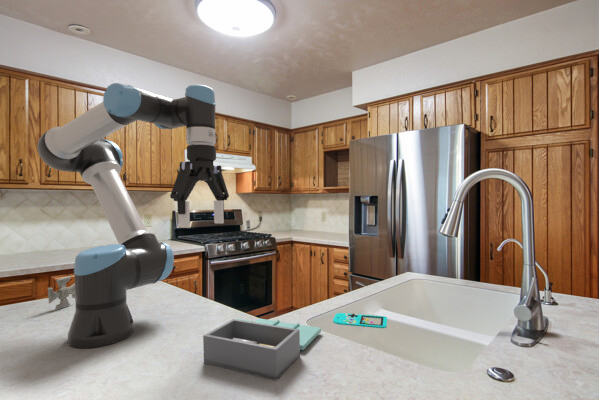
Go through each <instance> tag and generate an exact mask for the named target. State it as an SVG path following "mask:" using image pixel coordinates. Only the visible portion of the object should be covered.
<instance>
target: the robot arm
mask: <svg viewBox="0 0 599 400" xmlns="http://www.w3.org/2000/svg"><path fill="white" fill-rule="evenodd" d="M184 95H185V96H183V97H180V98H173V99H172V98H169V97H165V96H163V95H159V94H158V93H157V94H156V93H153V92H149V91H147V90H144V89H140V88H137V87H134V86H133V85H130V84H123V83H120V82H119V83H118V82H114V83H111V84H109V85H108V86H107V87H106V90H104V94H103V98H102V102H100V103H98V104H97V105H95V106H93V107H92V108H90V109H88V110H87V111H85V112H84V113H82V114H81V115H79V116H77V117H76V118H73V119H72V120H70V121H69V122H68V123H65V124H64V125H63V126H54V127H52V128H50V129H48V130H47V131H45V132H43V134H42V135H41V136H40V137H39V139H38V142H37V146H36V147H37V153H38V155H39V157H40V159H41V160H42V161H43V162H44V163H45V164H46V165H47V166H49V167H50V168H52V169H54V170H57V171H60V172H69V173H79V174H80V176H81V179H82V181H83V182H84V183H85V184H88V185H91V188H92V190H93V191H94V194H95V196H96V198H97V200H98V203H99V204H100V207H101V209H102V211H103V213H104V215H105V217H106V220H107V221H108V223H109V225H110V228H111V230H112V232H113V234H114V237H115V239H116V240H117V243H114V244H113V243H111V244H107V245H100V246H99V245H98V246H94V247H91V248H88V249H84V250H82V251H81V252H79V253H78V254H77V255H76V256H75V259H74V267H73V268H74V269H73V274H74V283H75V298H74V299H75V301H74V302H75V311H74V315H73V317H72V321H71V324H70V327H69V330H68V332H67V344H68V346H70V347H72V348H77V349H79V348H80V349H87V348H88V349H89V348H97V347H103V346H109V345H111V344H114V343H117V342H120V341H123V340H124V339H127V338H129V337H130V336H132V334H134V333H135V321H134V319H133V316H132V314H131V311H130V308H129V305H128V304H127V291H128V290H131V289H136V288H139V287H143V286H147V285H151V284H152V285H153V284H156V283H158V282H161V281H163V280H165V279H166V278H168V277H169V276H170V275H171V273H172V271H173V268H174V263H175V256H174V252H173V249H172V247H171V246H170V245H169V244H168V243H166V242H163V241H160V242H159V240H158V238H157V237H156V235H155V233H154V232H151V231H148V229H147V228H146V226H145V224H144V222H143V220H142V219H141V218H142V217H140V214H139V212H138V210H137V209H136V206H135V204H134V202H133V200H132V197H130V194H129V191H128V190H127V188H126V186H125V184H124V183H123V181H122V177H121V176H120V174H121V171H122V168H123V164H124V160H123V157H124V156H123V152H122V150H121V148H120V147H119V145H117V143H115V142H113V141H112V140H108V139H105V138H106V137H108V136H110V135H111V134H114V133H115V132H117V131H119V130H121V129H123V128H125V127H126V126H129V125H130V124H132V123H135V122H137V121H140V122H145V123H151V124H153V125H154V126H155V127H157V128H159V129H161V130H172V129H177V128H183V127H186V128H185V129H186V130H185V133H186V134H185V137H186V140H185V143H186V145H187V146H186V160H188V161H180V162H179V167H178V168H179V170H178V174H177V175H176V179H175V181H174V183H173V186H172V188H171V189H172V190H171V193H170V195H169V197H170V199H172V200H173V201H174V202H177V214H178V226H179V228H180V229H181V228H183V229H185V228H186V229H188V228H190V227H191V226H190V225H191V224H190V223H191V219H190V216H191V215H190V212H191V211H190V201H189V200H188V199H189V197H190V194H191V193H192V192H193V190H194V188H195V187H196V185H197V183H198V182H199V181H200V182H205V183H206V185H207V186H208V187H209V190H210V191H211V193H212V195H213V196H214V198H215V200H213V220H214V224H225V223H224V221H225V220H224V219H225V218H224V211H225V201H228V198H229V197H230V194H229V192H228V187H227V185H226V182H225V179H224V176H223V172H222V171H223V170H222V169H223V168H222V165H219V164H218V165H214V161H216V160H217V148H216V146H215V145H216V144H217V141H216V106H217V103H216V97H215V91H214V90H213V88H212V87H209V86H208V85H203V84H191V85H188V86H187V87H186V88H185V94H184Z"/></svg>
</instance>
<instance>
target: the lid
mask: <svg viewBox="0 0 599 400" xmlns="http://www.w3.org/2000/svg"><path fill="white" fill-rule="evenodd" d="M236 319H237V320H243V321H249V322H256V323H262V324H268V325H274V326H281V327H287V328H293V329H299V331H300V351H304V350H305V349H306V348H307V347H308V346H309V345H310V344H311V343H312V342H313V341H314V340H315V338H317V337H318V336H319V335H320V334H321V332H322V327H317V326H312V325H305V324H300V322H297V323H291V322H286V321H285V322H284V321H280V320H279V319H278V320H272V319H266V318H258V319H256V320H255V321H253V320H249V319H243V318H236Z"/></svg>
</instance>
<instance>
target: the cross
mask: <svg viewBox="0 0 599 400" xmlns="http://www.w3.org/2000/svg"><path fill="white" fill-rule="evenodd" d="M71 278H72V276H70V275H69V276H66V277H62V278H58V279H56V280H55V281H56V283H57V285H58V289H57V291H54V289H53V287H47V297H48V304H51V303H53V301H55V300H57V299H58V300H59V303H58V304H56V305H55V309H54V311H58V310H60V309H63V308H66V307H68V306H71V304H70V302H69V300H68V298H67V297H70V295H71V298H72V299H75V282H74V283H73V284H72V285H70V286H67V282H69V281H70V280H71Z"/></svg>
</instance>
